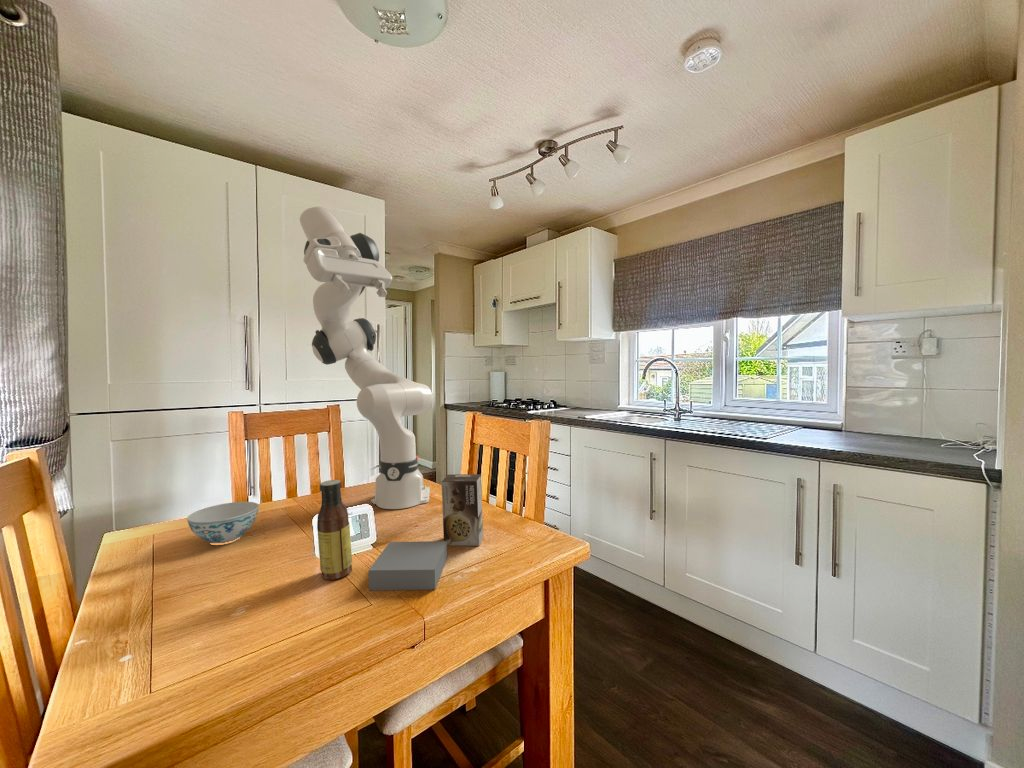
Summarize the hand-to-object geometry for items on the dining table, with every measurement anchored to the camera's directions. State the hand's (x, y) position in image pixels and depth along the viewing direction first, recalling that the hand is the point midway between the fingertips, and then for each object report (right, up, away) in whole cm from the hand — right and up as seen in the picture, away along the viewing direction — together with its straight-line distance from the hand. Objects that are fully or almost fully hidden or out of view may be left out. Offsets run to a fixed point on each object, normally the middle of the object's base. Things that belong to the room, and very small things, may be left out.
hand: (367, 293), depth 96 cm
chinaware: (-40, -62, +8) cm, 74 cm away
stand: (+13, -62, -11) cm, 64 cm away
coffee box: (+22, -61, +5) cm, 65 cm away
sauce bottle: (-3, -62, -10) cm, 63 cm away
